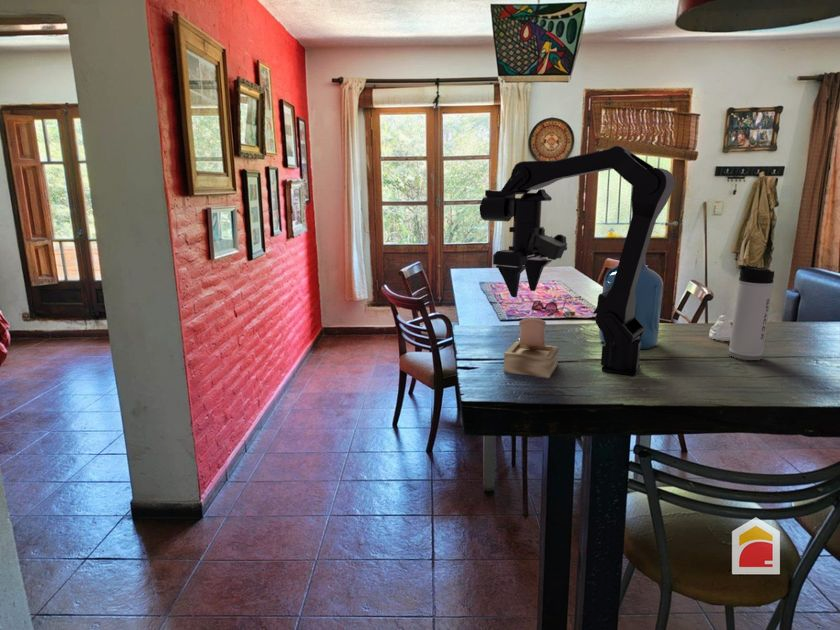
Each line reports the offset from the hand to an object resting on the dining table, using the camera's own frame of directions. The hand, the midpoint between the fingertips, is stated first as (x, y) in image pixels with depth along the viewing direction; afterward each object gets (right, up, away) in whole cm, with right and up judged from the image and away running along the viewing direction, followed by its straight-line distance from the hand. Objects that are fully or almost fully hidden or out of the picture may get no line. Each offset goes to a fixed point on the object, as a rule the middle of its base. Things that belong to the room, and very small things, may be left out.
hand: (523, 293), depth 118 cm
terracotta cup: (0, -11, -10) cm, 15 cm away
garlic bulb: (+51, -11, +12) cm, 53 cm away
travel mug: (+48, -14, -2) cm, 50 cm away
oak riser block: (0, -16, -9) cm, 18 cm away
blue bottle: (+26, -12, +9) cm, 30 cm away
